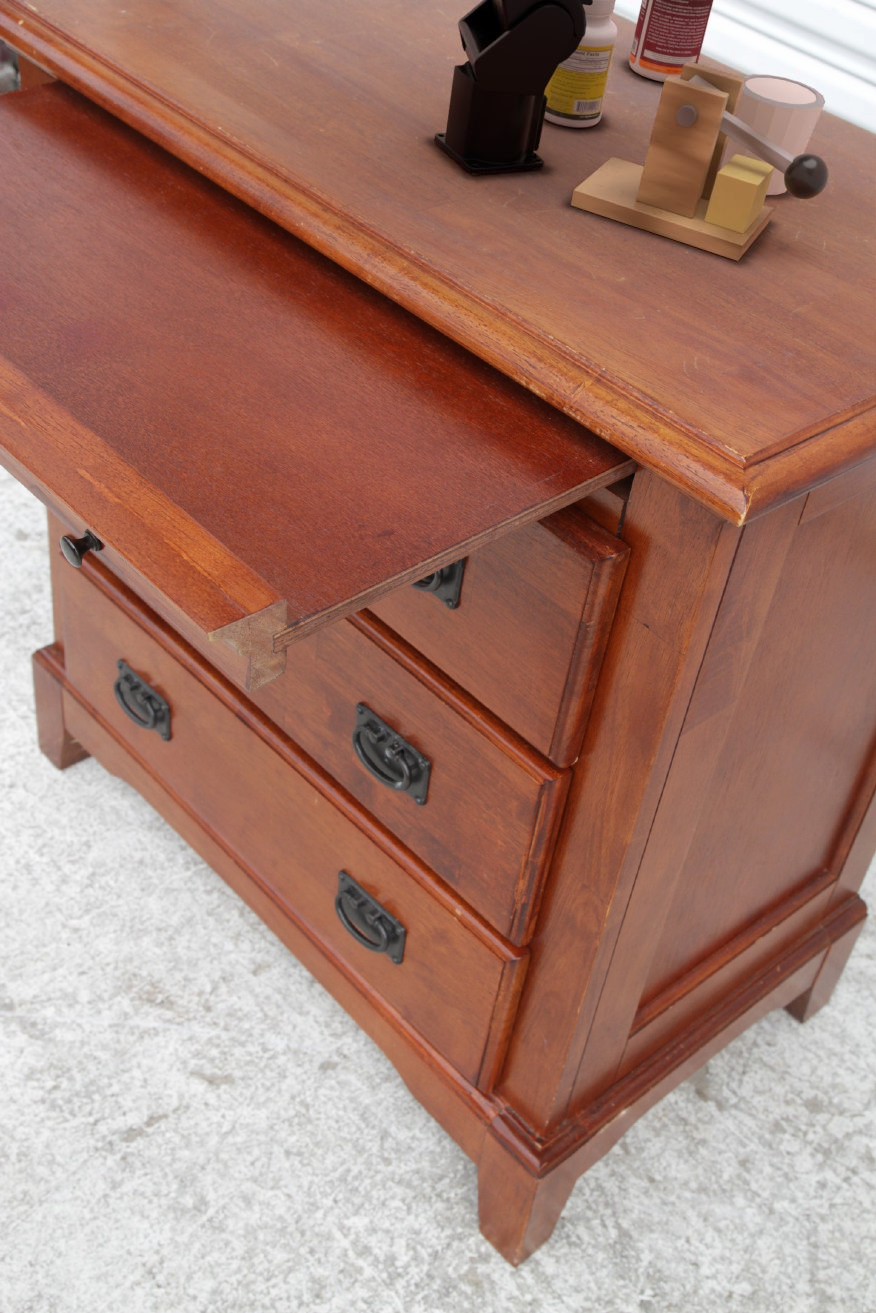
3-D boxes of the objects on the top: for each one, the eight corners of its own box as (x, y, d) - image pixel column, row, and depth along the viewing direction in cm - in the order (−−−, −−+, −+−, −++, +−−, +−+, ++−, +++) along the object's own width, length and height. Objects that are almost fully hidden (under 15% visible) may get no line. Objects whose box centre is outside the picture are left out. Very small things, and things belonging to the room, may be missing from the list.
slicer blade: (816, 199, 92) (842, 163, 90) (806, 213, 90) (831, 176, 87) (678, 107, 92) (700, 69, 90) (665, 119, 90) (686, 80, 88)
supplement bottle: (548, 98, 110) (570, -26, 103) (608, 115, 109) (634, -10, 102) (526, 117, 106) (549, -11, 99) (588, 135, 105) (615, 7, 98)
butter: (743, 234, 92) (758, 185, 89) (703, 221, 93) (717, 172, 90) (760, 213, 95) (775, 165, 92) (721, 201, 96) (735, 153, 93)
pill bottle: (707, 82, 118) (742, -50, 111) (657, 88, 115) (689, -47, 108) (663, 57, 122) (694, -72, 114) (613, 62, 119) (641, -70, 111)
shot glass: (737, 154, 106) (763, 66, 101) (811, 184, 103) (841, 95, 99) (695, 174, 102) (720, 83, 97) (771, 206, 99) (800, 114, 94)
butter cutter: (768, 223, 97) (810, 89, 90) (737, 261, 91) (780, 122, 85) (609, 171, 100) (638, 39, 93) (570, 205, 94) (598, 67, 88)
